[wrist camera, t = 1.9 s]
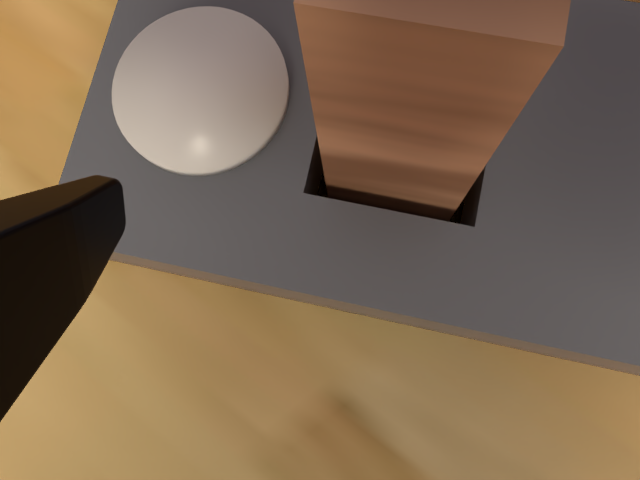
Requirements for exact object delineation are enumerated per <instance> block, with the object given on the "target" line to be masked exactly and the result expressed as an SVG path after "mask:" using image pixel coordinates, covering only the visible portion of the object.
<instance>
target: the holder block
mask: <svg viewBox="0 0 640 480" xmlns="http://www.w3.org/2000/svg"><path fill="white" fill-rule="evenodd" d="M293 2H294V0H118V2H117V5H116V9H115V12H114V15H113V18H112V21H111V24H110V27H109V30H108V33H107V36H106V39H105V42H104V46H103V49H102V52H101V55H100V58H99V61H98V64H97V67H96V70H95V73H94V76H93V80H92V83H91V86H90V89H89V92H88V95H87V98H86V101H85V104H84V107H83V110H82V113H81V117H80V120H79V123H78V126H77V129H76V132H75V135H74V138H73V141H72V144H71V147H70V151H69V154H68V157H67V160H66V163H65V166H64V169H63V172H62V175H61V178H60V181H59V184H63V183H67V182H70V181H74V180H78V179H81V178H85V177H89V176H93V175H101V176H106V177H111V178H116V179H118V180H119V181H120V182H121V184H122V187H123V195H124V205H125V215H126V226H125V230H124V233H123V235H122V237H121V239H120V241H119V243H118V244H117V246H116V248H115V250H114V252H113V253H112V255H111V257H110V259H109V260H113V261H118V262H122V263H127V264H131V265H136V266H140V267H145V268H150V269H154V270H159V271H163V272H168V273H172V274H177V275H182V276H186V277H191V278H195V279H200V280H204V281H209V282H214V283H218V284H223V285H227V286H232V287H237V288H241V289H246V290H250V291H255V292H259V293H264V294H269V295H273V296H278V297H282V298H287V299H291V300H296V301H301V302H305V303H310V304H314V305H319V306H323V307H328V308H333V309H337V310H342V311H346V312H351V313H355V314H360V315H365V316H369V317H374V318H378V319H383V320H388V321H392V322H397V323H401V324H406V325H410V326H415V327H420V328H424V329H429V330H433V331H438V332H442V333H447V334H452V335H456V336H461V337H465V338H470V339H474V340H479V341H484V342H488V343H493V344H497V345H502V346H507V347H511V348H516V349H520V350H525V351H529V352H534V353H539V354H543V355H548V356H552V357H557V358H561V359H566V360H571V361H575V362H580V363H584V364H589V365H593V366H598V367H603V368H607V369H612V370H616V371H621V372H626V373H630V374H635V375H639V376H640V3H637V2H630V1H624V0H571V3H570V9H569V16H568V22H567V29H566V35H565V42H564V47H563V48H562V50H561V51H560V53H559V54H558V56H557V58H556V59H555V61H554V62H553V64H552V65H551V67H550V68H549V70H548V71H547V73H546V74H545V76H544V77H543V79H542V80H541V82H540V83H539V85H538V86H537V88H536V89H535V91H534V92H533V94H532V95H531V97H530V99H529V100H528V102H527V103H526V105H525V106H524V108H523V109H522V111H521V112H520V114H519V115H518V117H517V118H516V120H515V121H514V123H513V124H512V126H511V127H510V129H509V130H508V132H507V133H506V135H505V137H504V138H503V140H502V141H501V143H500V144H499V146H498V147H497V149H496V150H495V152H494V153H493V155H492V156H491V158H490V159H489V161H488V162H487V164H486V165H485V167H484V168H483V170H482V171H481V173H480V175H479V176H478V178H477V179H476V181H475V182H474V184H473V185H472V187H471V188H470V190H469V191H468V193H467V194H466V196H465V202H464V207H463V213H462V218H461V224H457V223H452V222H447V221H442V220H437V219H432V218H427V217H422V216H417V215H412V214H407V213H402V212H397V211H392V210H387V209H382V208H377V207H371V206H366V205H361V204H356V203H351V202H346V201H341V200H336V199H331V198H326V197H321V196H317V193H318V189H319V185H320V180H321V176H322V172H323V166H322V160H321V154H320V149H319V143H318V138H317V132H316V127H315V121H314V116H313V110H312V104H311V99H310V93H309V88H308V82H307V77H306V71H305V65H304V60H303V54H302V49H301V43H300V38H299V32H298V26H297V21H296V15H295V10H294V4H293ZM59 184H58V185H59Z"/></svg>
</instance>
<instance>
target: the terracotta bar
mask: <svg viewBox="0 0 640 480" xmlns="http://www.w3.org/2000/svg"><path fill="white" fill-rule="evenodd" d="M570 3H571V0H294V2H293V4H294V10H295V15H296V21H297V26H298V32H299V38H300V43H301V49H302V54H303V60H304V65H305V71H306V77H307V82H308V88H309V93H310V99H311V104H312V110H313V116H314V121H315V127H316V132H317V138H318V143H319V149H320V154H321V160H322V166H323V171H324V177H325V182H326V188H327V193H328V198H331V199H336V200H341V201H346V202H351V203H356V204H361V205H366V206H371V207H377V208H382V209H387V210H392V211H397V212H402V213H407V214H412V215H417V216H422V217H427V218H432V219H437V220H442V221H447V222H449V220H450V219H451V217H452V216H453V214H454V213H455V211H456V209H457V208H458V206H459V205H460V203H461V202H462V200H463V199H464V197H465V196H466V194H467V193H468V191H469V190H470V188H471V187H472V185H473V184H474V182H475V181H476V179H477V178H478V176H479V175H480V173H481V171H482V170H483V168H484V167H485V165H486V164H487V162H488V161H489V159H490V158H491V156H492V155H493V153H494V152H495V150H496V149H497V147H498V146H499V144H500V143H501V141H502V140H503V138H504V137H505V135H506V133H507V132H508V130H509V129H510V127H511V126H512V124H513V123H514V121H515V120H516V118H517V117H518V115H519V114H520V112H521V111H522V109H523V108H524V106H525V105H526V103H527V102H528V100H529V99H530V97H531V95H532V94H533V92H534V91H535V89H536V88H537V86H538V85H539V83H540V82H541V80H542V79H543V77H544V76H545V74H546V73H547V71H548V70H549V68H550V67H551V65H552V64H553V62H554V61H555V59H556V58H557V56H558V54H559V53H560V51H561V50H562V48H563V47H564V42H565V35H566V29H567V22H568V16H569V9H570Z"/></svg>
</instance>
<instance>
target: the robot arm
mask: <svg viewBox="0 0 640 480" xmlns="http://www.w3.org/2000/svg"><path fill="white" fill-rule="evenodd" d="M125 226H126V215H125V205H124V195H123V187H122V184H121V182H120V181H119V180H118V179H116V178H111V177H106V176H101V175H93V176H89V177H85V178H81V179H78V180H74V181H70V182H67V183H63V184H59V185H56V186H52V187H48V188H44V189H41V190H37V191H33V192H30V193H26V194H22V195H18V196H15V197H11V198H7V199H4V200H0V422H1V420H2V419H3V417H4V416H5V414H6V413H7V412H8V410H9V409H10V407H11V406H12V405H13V403H14V402H15V400H16V399H17V398H18V396H19V395H20V393H21V392H22V391H23V389H24V388H25V386H26V385H27V384H28V382H29V381H30V379H31V378H32V377H33V375H34V374H35V372H36V371H37V370H38V368H39V367H40V365H41V364H42V363H43V361H44V360H45V358H46V357H47V356H48V354H49V353H50V351H51V350H52V349H53V347H54V346H55V344H56V343H57V341H58V340H59V339H60V337H61V336H62V334H63V333H64V332H65V330H66V329H67V327H68V326H69V325H70V323H71V322H72V320H73V319H74V318H75V316H76V315H77V313H78V312H79V311H80V309H81V308H82V306H83V305H84V303H85V302H86V300H87V298H88V297H89V295H90V293H91V292H92V290H93V288H94V286H95V285H96V283H97V281H98V279H99V277H100V275H101V274H102V272H103V270H104V268H105V266H106V264H107V263H108V261H109V259H110V257H111V255H112V253H113V252H114V250H115V248H116V246H117V244H118V243H119V241H120V239H121V237H122V235H123V233H124V230H125Z"/></svg>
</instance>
